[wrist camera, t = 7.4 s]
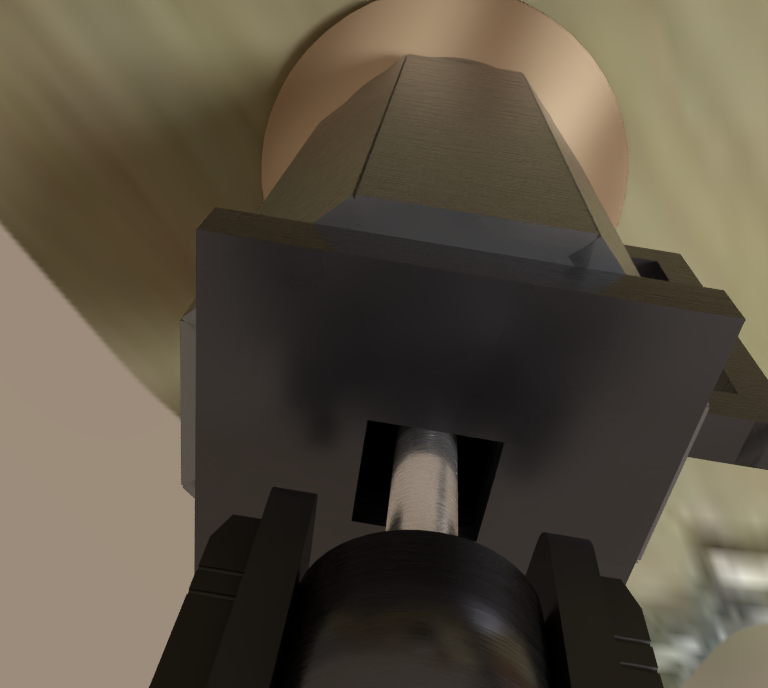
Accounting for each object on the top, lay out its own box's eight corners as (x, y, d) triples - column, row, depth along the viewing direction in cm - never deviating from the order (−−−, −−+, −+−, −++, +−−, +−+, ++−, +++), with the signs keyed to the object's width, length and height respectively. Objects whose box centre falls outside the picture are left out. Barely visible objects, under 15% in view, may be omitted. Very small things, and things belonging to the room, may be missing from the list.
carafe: (686, 94, 25) (1011, 324, 10) (606, 330, 30) (750, 712, 15) (329, 36, 25) (156, 185, 11) (307, 281, 30) (166, 615, 15)
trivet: (676, 20, 25) (683, 22, 24) (568, 360, 32) (570, 370, 31) (276, -45, 25) (271, -45, 24) (257, 309, 32) (253, 318, 31)
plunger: (560, 134, 23) (863, 719, 6) (512, 316, 27) (618, 1020, 9) (354, 101, 23) (68, 587, 6) (333, 287, 27) (112, 935, 10)
